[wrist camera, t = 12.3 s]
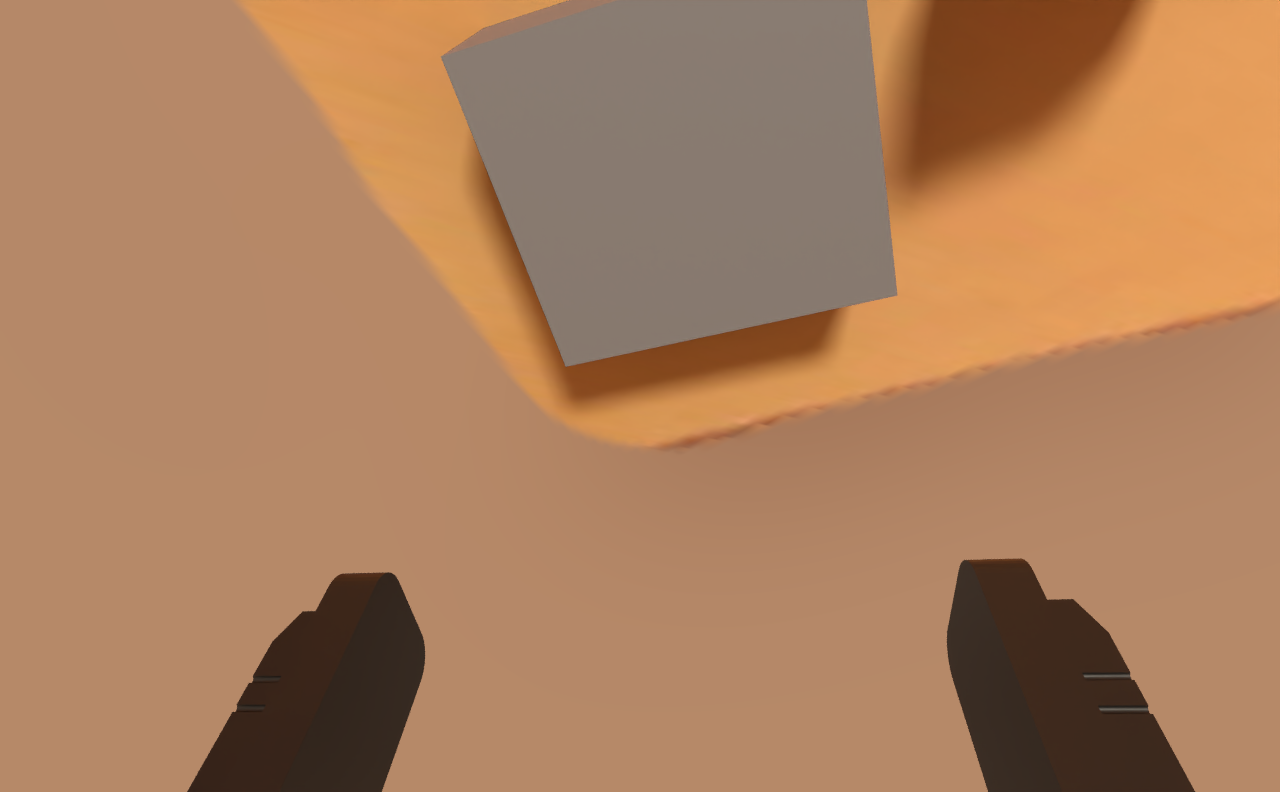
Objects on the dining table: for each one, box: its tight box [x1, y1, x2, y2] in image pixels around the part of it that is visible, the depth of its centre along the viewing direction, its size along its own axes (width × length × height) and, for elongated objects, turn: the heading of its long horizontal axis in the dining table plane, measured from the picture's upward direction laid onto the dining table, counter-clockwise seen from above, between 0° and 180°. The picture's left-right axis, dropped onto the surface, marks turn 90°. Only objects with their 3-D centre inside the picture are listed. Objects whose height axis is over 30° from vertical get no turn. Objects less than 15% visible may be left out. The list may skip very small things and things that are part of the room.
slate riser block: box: [441, 0, 897, 367], centre depth 28 cm, size 13×12×6 cm
